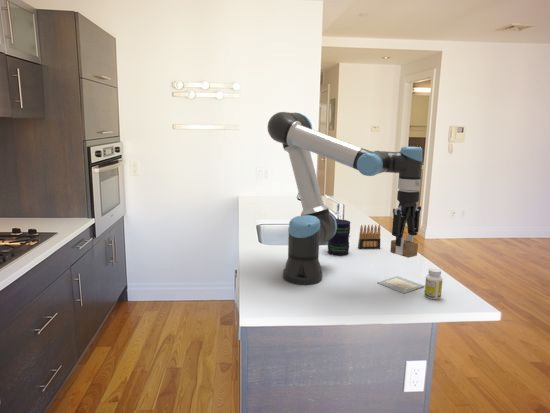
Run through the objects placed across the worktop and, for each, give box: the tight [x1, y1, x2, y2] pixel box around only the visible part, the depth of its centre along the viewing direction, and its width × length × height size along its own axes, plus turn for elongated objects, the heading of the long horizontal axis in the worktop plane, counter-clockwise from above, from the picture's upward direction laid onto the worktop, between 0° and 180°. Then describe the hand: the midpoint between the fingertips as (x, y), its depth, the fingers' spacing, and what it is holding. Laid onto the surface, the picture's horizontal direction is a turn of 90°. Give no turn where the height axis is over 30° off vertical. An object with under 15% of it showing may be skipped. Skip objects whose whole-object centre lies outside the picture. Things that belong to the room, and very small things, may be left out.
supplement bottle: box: [424, 267, 444, 300], centre depth 143 cm, size 5×5×10 cm
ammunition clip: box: [357, 224, 381, 250], centre depth 200 cm, size 11×2×12 cm, turn 98°
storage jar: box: [327, 218, 351, 257], centre depth 191 cm, size 10×10×15 cm
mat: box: [377, 275, 425, 294], centre depth 154 cm, size 12×12×1 cm
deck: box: [389, 239, 419, 259], centre depth 152 cm, size 8×5×4 cm, turn 36°
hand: (403, 253), depth 152 cm, fingers closed on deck, 5 cm apart
